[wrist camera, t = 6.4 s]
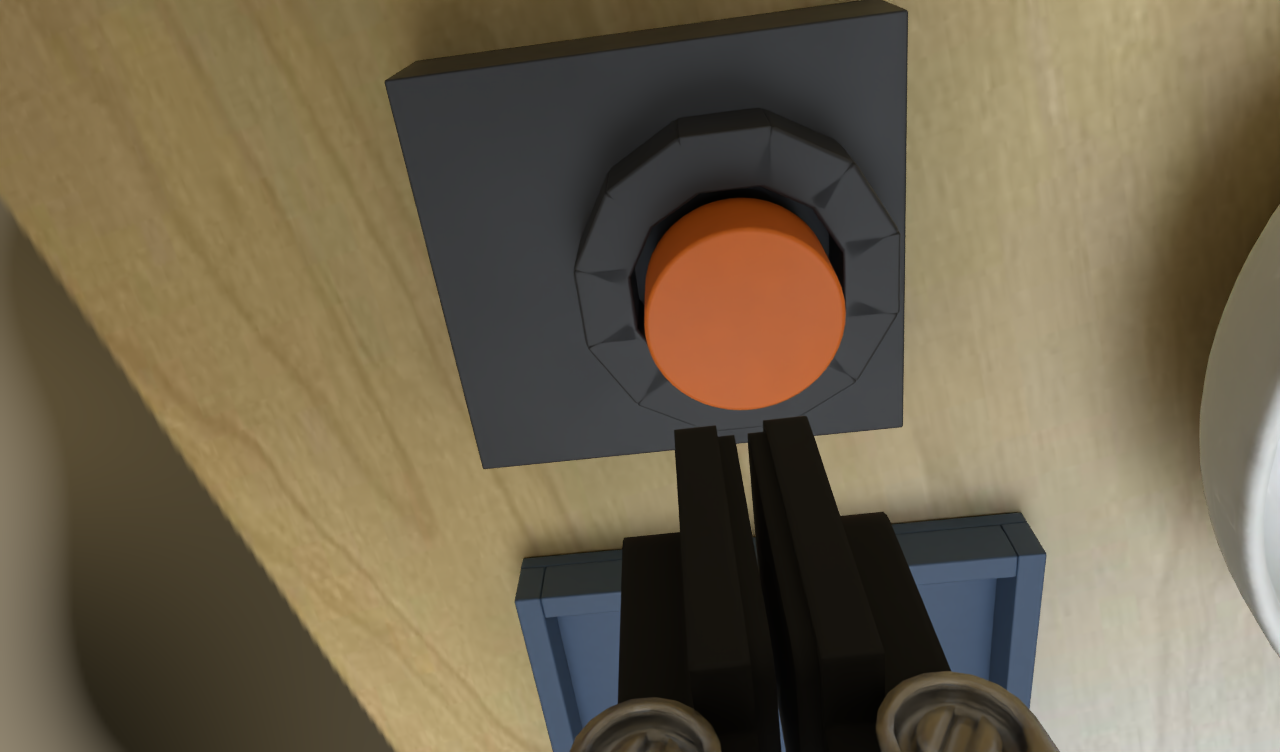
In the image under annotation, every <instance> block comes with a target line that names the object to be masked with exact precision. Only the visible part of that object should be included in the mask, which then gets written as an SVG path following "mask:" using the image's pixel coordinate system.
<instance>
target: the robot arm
mask: <svg viewBox="0 0 1280 752" xmlns="http://www.w3.org/2000/svg"><path fill="white" fill-rule="evenodd" d="M674 441H675V457H676V473H677V489H678V505H679V521H680V532H677V533H667V534H657V535H647V536H637V537H627V538H624V540H623V546H622V574H621V608H620V642H619V676H618V704H616V705H614V706H611V707H609V708H607V709H606V710H604V711H603V712H601V713H600V714H598V715H597V716H595V717H594V718H592V719H591V720H590V721H589V722H588V723H587V725H586V726H585V727H584V728H583V729H582V730H581V731H580V733H579V734H578V735H577V736H576V738H575V740H574V742H573V745H572V747H571V749H570V752H781V739H780V725H779V715H780V721H781V726H782V732H783V738H784V744H785V750H786V752H1060V751H1059V750H1058V748H1057V747H1056V745H1055V744H1054V742H1053V741H1052V740H1051V738H1050V737H1049V735H1048V734H1047V732H1046V731H1045V729H1044V728H1043V726H1042V725H1041V724H1040V722H1039V721H1038V719H1037V718H1036V716H1035V715H1034V714H1033V713H1032V712H1031V711H1030V710H1029V709H1028V708H1027V707H1026V705H1025V704H1024V703H1023V702H1022V701H1021V700H1020V699H1019V698H1018V697H1016V696H1015V695H1013V694H1012V693H1010V692H1009V691H1007V690H1006V689H1004V688H1003V687H1001V686H1000V685H998V684H996V683H993V682H991V681H988V680H985V679H983V678H980V677H978V676H975V675H971V674H965V673H958V672H952V671H951V669H950V666H949V664H948V661H947V659H946V657H945V654H944V652H943V649H942V647H941V644H940V642H939V639H938V637H937V635H936V632H935V630H934V627H933V625H932V622H931V620H930V617H929V615H928V612H927V610H926V608H925V605H924V603H923V600H922V598H921V595H920V593H919V590H918V588H917V585H916V583H915V581H914V578H913V576H912V573H911V571H910V568H909V566H908V563H907V561H906V559H905V556H904V554H903V551H902V549H901V546H900V544H899V541H898V539H897V536H896V534H895V532H894V529H893V527H892V524H891V522H890V520H889V518H888V516H887V515H886V514H885V513H884V512H877V513H867V514H857V515H847V516H840V514H839V511H838V508H837V505H836V502H835V499H834V496H833V493H832V490H831V487H830V484H829V481H828V478H827V475H826V472H825V469H824V466H823V463H822V460H821V456H820V453H819V450H818V447H817V444H816V441H815V438H814V435H813V432H812V429H811V426H810V423H809V420H808V418H807V416H798V417H789V418H780V419H770V420H763V432H755V433H748V450H749V463H750V475H751V487H752V500H753V512H754V524H755V537H756V549H757V559H756V554H755V548H754V543H753V537H752V531H751V526H750V520H749V514H748V509H747V503H746V498H745V492H744V486H743V481H742V475H741V469H740V464H739V458H738V453H737V447H736V441H735V436H734V435H727V436H718V435H717V428H716V425H714V426H705V427H696V428H686V429H677V430H674ZM757 561H758V565H757ZM778 709H779V712H778Z"/></svg>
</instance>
